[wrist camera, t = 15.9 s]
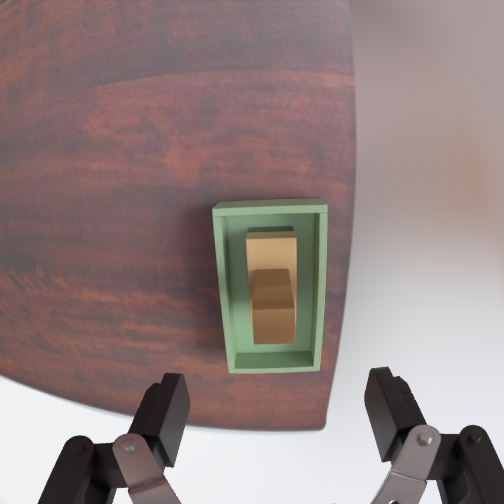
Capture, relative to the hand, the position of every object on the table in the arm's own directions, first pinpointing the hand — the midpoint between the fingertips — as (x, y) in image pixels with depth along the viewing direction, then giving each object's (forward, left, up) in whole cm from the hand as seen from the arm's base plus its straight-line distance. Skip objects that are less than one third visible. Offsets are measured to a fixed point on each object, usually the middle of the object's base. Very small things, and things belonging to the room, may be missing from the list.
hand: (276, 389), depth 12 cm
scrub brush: (0, 0, -15) cm, 15 cm away
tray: (+1, +2, -16) cm, 16 cm away
